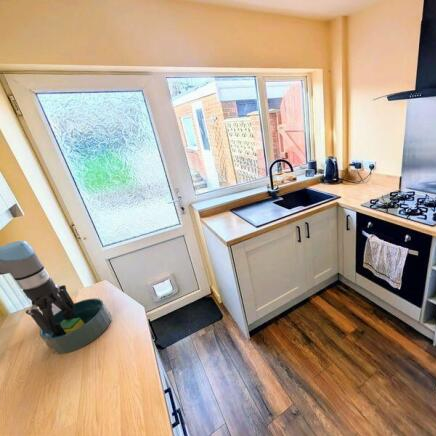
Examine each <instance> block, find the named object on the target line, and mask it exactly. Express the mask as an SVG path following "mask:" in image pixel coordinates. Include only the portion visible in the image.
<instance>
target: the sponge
mask: <svg viewBox="0 0 436 436" xmlns="http://www.w3.org/2000/svg"><path fill="white" fill-rule="evenodd" d="M60 325H61V326H62V328H63V329H64V331H65V332H66V334H68V333H70V332H72V331H74V330H76V329H78V328H80V327H82V326H83V325H85V324H84V322H83V321H82V320H81V318H74V319H68V320H63V321H62V322H61V323H60Z"/></svg>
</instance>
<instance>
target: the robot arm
mask: <svg viewBox="0 0 436 436" xmlns="http://www.w3.org/2000/svg"><path fill="white" fill-rule="evenodd" d="M7 274H10V276H11V277H12V278H13V280H14V281H15V283H16V284H17V285H18V287H19V288H20V289H21V290H22V292H23V294H24V295H25V297H26V298H27V299H28V300H30V301H31V305H32V306H31V307H30V308H29V309H27V310H25V314H26V315H29V316H30V317H31V318H32V320H33V321H34V322H35V323H36V325H37V326H38V327H39V328H40V329H41V330H49V329H50V330H51V331H52V332H53V333H54V334H57V335H58V336H62V335H65V334H66V332H65V331H64V329H63V328H62V326H61V325H60V324H59V323H57V324H56V321H55V318H54V315H53V312H52V303H53V304H54V305H56V306H57V307H58V308H59V309H61V310H62V311H63V312H65V313H63V314H62V315H63V316H64V318H65V319H66V320H68V319H74V317H75V315H74V313H73V312H72V311H74V308H73V309H72V307H74V306H75V304H74V303H75V302H74V301H73V299H72V298H71V296H70V294H69V292H68V291H67V287H66V285H65V284H62V285H57V284H56V283H55V282H54V280H53V279H52V277H50V274H49V272H48V271H47V269H46V268H45V266H44V265H43V263H42V262H41V260H40V258H39V257H38V255H37V254H36V251H35V250H34V249H33V247H31V245H30V244H29V242H27V241H25V240H17V241H13V242H9V243H6V244H3V245H1V246H0V275H7ZM55 286H57V287H55ZM58 295H59V296H60V297H59V296H58ZM61 299H62V300H61Z"/></svg>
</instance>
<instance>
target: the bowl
mask: <svg viewBox="0 0 436 436" xmlns="http://www.w3.org/2000/svg"><path fill="white" fill-rule="evenodd" d="M74 304H75V306H74V307H72V309H73V308H74V311H72V312H73V313H74V315H75V317H74V318H81V320H82V321H83V322H84V324H85V325H83V326H82V327H80V328H78V329H76V330H74V331H72V332H70V333H68V334H65V335H62V336H58V335H57V334H54V333H53V332H52V331H51V330H50V329H49V330H41V328H40V329H39V337H40V338H41V340H42V341H43V342H44V344H45V345H46V346H47V348H48V349H49V350H50V351H51V352H52V353H53V354H67V353H71V352H74V351H77V350H78V349H80V348H83V347H85V346H86V345H88V344H90V343H92V342H93V341H94V340H96V339H97V338H98V337H100V336H101V334H103V333H104V332H105V331H106V329H108V327H109V325H110V324H111V321H112V315H111V314H110V312H109V310H108V308H107V305H105V303H104V301H103V300H102V299H100V298H95V297H94V298H87V299H82V300H80V301H77V302H74ZM63 313H65V312H63V311H62V310H60V311H59V312H57V313H56V314H54V318H55V321H56V324H57V323H59V324H60V323H61V322H62V321H63V320H66V319H65V318H64V316H63V315H62V314H63Z"/></svg>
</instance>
